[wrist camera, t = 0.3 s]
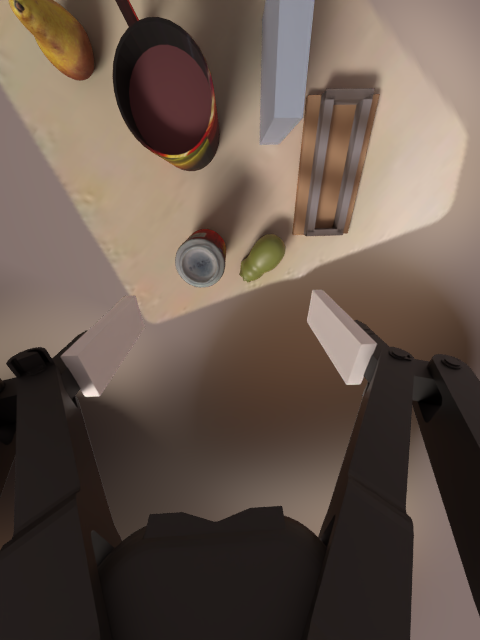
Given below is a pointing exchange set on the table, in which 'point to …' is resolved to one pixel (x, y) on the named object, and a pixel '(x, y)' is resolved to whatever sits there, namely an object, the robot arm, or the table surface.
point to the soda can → (201, 258)
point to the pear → (262, 257)
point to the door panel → (284, 66)
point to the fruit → (57, 36)
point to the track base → (332, 159)
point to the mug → (165, 91)
